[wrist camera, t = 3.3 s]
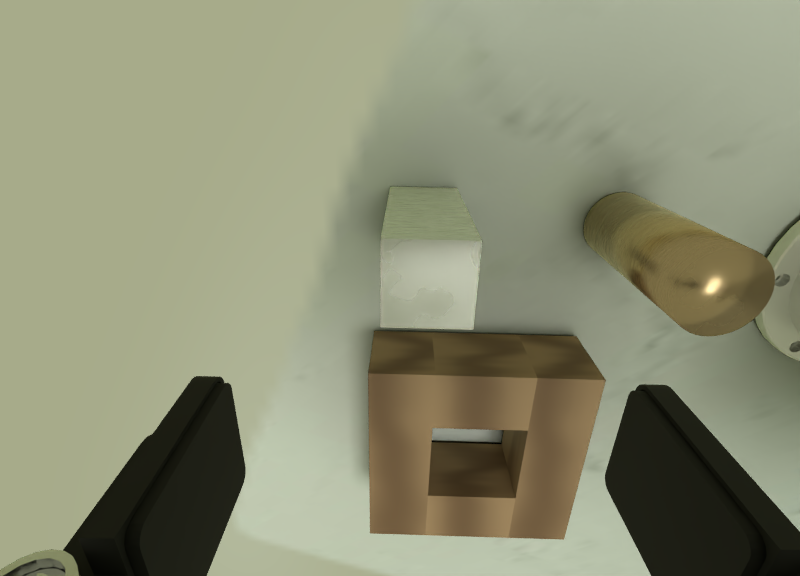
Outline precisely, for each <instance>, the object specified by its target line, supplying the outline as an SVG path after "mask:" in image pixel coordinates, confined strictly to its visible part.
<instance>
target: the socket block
mask: <svg viewBox="0 0 800 576" xmlns="http://www.w3.org/2000/svg"><path fill="white" fill-rule="evenodd" d="M605 381H606V380H605V378H604V377H603V375H602V374H601V372H600V371H599V369H598V368H597V366H596V365H595V363H594V362H593V360H592V359H591V357H590V356H589V354H588V353H587V352H586V350H585V349H584V347H583V346H582V344H581V343H580V341H579V340H578V338H577V337H576V336H548V335H511V334H474V333H437V332H401V331H374V337H373V344H372V351H371V358H370V365H369V372H368V394H369V477H370V533H377V534H409V535H441V536H473V537H505V538H537V539H564V537H565V533H566V529H567V525H568V522H569V518H570V514H571V510H572V506H573V503H574V499H575V495H576V491H577V487H578V484H579V480H580V476H581V472H582V468H583V465H584V461H585V457H586V453H587V449H588V446H589V442H590V438H591V434H592V430H593V427H594V423H595V419H596V415H597V411H598V408H599V404H600V400H601V396H602V392H603V389H604V385H605ZM432 428H454V429H489V430H504V431H503V438H502V444H474V443H440V442H432Z"/></svg>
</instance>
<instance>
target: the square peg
mask: <svg viewBox="0 0 800 576" xmlns="http://www.w3.org/2000/svg"><path fill="white" fill-rule="evenodd" d="M481 250H482V239H481V237H480V235H479V233H478V231H477V229H476V227H475V225H474V222H473V220H472V218H471V216H470V214H469V212H468V210H467V208H466V206H465V204H464V202H463V200H462V198H461V195H460V193H459V191H458V189H457V188H432V187H391V186H390V191H389V196H388V202H387V207H386V212H385V217H384V223H383V228H382V233H381V250H380V327H389V328H426V329H463V330H473V328H474V318H475V308H476V299H477V289H478V279H479V270H480V260H481Z"/></svg>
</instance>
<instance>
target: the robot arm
mask: <svg viewBox="0 0 800 576" xmlns="http://www.w3.org/2000/svg"><path fill="white" fill-rule="evenodd" d="M767 259H768V260H769V262H770V263H771V265H772V267H773V270H774V273H775V286H774V290H773V293H772V296H771V298H770V300H769V302H768V303H767V305H766V306H765V308H764V309H763V310H762V311H761V313H760V314H759V315H758V316H757V317H755V320H756V324H757V326H758V328H759V330H760V331H761V333H762V335H763V337H764V338H765V339H767V340H768V341H769V342H770V343H771V344H772V345H773V346H774V347H775V348H777V349H778V350H779V351H781V352H782V353H784V354H785V355H787V356H788V357H791V358H793V359H795V360H798V361H800V220H799V221H798V222H797V223H796V224H795V225H793V226H792V227H791V228H790V229H789V230H788V232H787V233H786V234H785V235H784V236H783V237H782V238H781V239H780V241H779V242H778V243H777V244H776V245H775V247H774V248H773V250H772V251H771V253H770V254H769V256H768V258H767ZM244 479H245V462H244V457H243V451H242V445H241V439H240V434H239V428H238V423H237V417H236V411H235V405H234V399H233V394H232V388H231V385H230V384H229V383H224V380H223V379H222V378H221V377H208V376H203V377H202V376H196V377H194V378H193V379H192V380H191V382H190V383H189V384H188V386H187V387H186V388H185V390H184V391H183V393H182V394H181V395H180V397H179V398H178V400H177V401H176V402H175V404H174V405H173V407H172V408H171V409H170V411H169V412H168V414H167V415H166V416H165V418H164V419H163V420H162V422H161V423H160V425H159V426H158V427H157V429H156V430H155V432H154V433H153V434H152V435H150V436H148V437H147V438H146V439H145V440H144V441H143V442H142V443H141V444H140V446H139V447H138V449H137V450H136V451H135V453H134V454H133V455H132V457H131V458H130V459H129V461H128V462H127V464H126V465H125V466H124V468H123V469H122V470H121V472H120V473H119V475H118V476H117V477H116V478H115V480H114V481H113V483H112V484H111V485H110V487H109V488H108V490H107V491H106V492H105V494H104V495H103V496H102V498H101V499H100V500H99V502H98V503H97V504H96V506H95V507H94V509H93V510H92V511H91V513H90V514H89V515H88V517H87V518H86V519H85V521H84V522H83V524H82V525H81V526H80V528H79V529H78V530H77V532H76V533H75V535H74V536H73V537H72V539H71V540H70V542H69V543H68V544H67V546H66V547H65V548H64V550H63V551H61V550H52V549H51V550H45V551H40V552H35V553H33V554H30V555H28V556H25V557H22V558H20V559H18V560H16V561H15V562H13V563H11V564H9V565H8V566H6V567H4V568H2V569H1V570H0V576H207V573H208V571H209V568H210V566H211V563H212V561H213V558H214V556H215V553H216V551H217V548H218V546H219V543H220V541H221V538H222V536H223V533H224V531H225V528H226V526H227V523H228V521H229V518H230V516H231V513H232V511H233V508H234V506H235V503H236V501H237V498H238V496H239V493H240V491H241V488H242V486H243V483H244ZM605 482H606V486H607V489H608V492H609V494H610V496H611V498H612V500H613V502H614V503H615V505H616V507H617V509H618V511H619V513H620V515H621V517H622V519H623V521H624V523H625V525H626V527H627V529H628V531H629V533H630V535H631V537H632V539H633V541H634V543H635V545H636V547H637V548H638V550H639V552H640V554H641V556H642V558H643V560H644V562H645V564H646V566H647V568H648V570H649V572H650V574H651V576H800V532H799V530H798V529H797V528H796V527H795V526H794V525H793V524H792V523H791V522H790V520H789V519H788V518H787V517H786V516H785V515H784V514H783V513H782V511H781V510H780V509H779V508H778V507H777V506H776V505H775V504H774V503H773V501H772V500H771V499H770V498H769V497H768V496H767V495H766V494H765V492H764V491H763V490H762V489H761V488H760V487H759V486H758V485H757V484H756V482H755V481H754V480H753V479H752V478H751V477H750V476H749V475H748V474H747V472H746V471H745V470H744V469H743V468H742V467H741V466H740V465H739V463H738V462H737V461H736V460H735V459H734V458H733V457H732V456H731V455H730V453H729V452H728V451H727V450H726V449H725V448H724V447H723V446H722V444H721V443H720V442H719V441H718V440H717V439H716V438H715V437H714V436H713V434H712V433H711V432H710V431H709V430H708V429H707V428H706V427H705V425H704V424H703V423H702V422H701V421H700V420H699V419H698V418H697V417H696V415H695V414H694V413H693V412H692V411H691V410H690V409H689V408H688V406H687V405H686V404H685V403H684V402H683V401H682V400H681V399H680V398H679V396H678V395H677V394H676V393H675V392H674V391H673V390H672V389H671V388H670V387H669V386H666V385H639V386H638V387H637V388H636V390H635V391H631V392H630V394H629V396H628V399H627V403H626V406H625V409H624V413H623V416H622V420H621V423H620V426H619V430H618V433H617V436H616V440H615V443H614V447H613V450H612V453H611V457H610V460H609V463H608V467H607V470H606V474H605Z"/></svg>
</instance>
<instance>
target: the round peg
mask: <svg viewBox="0 0 800 576" xmlns="http://www.w3.org/2000/svg"><path fill="white" fill-rule="evenodd" d="M584 237H585V240H586V242H587V243H588V245H589V246H590V247H591V248H592V249H593V250H594V251H595V252H596V253H597V254H599V255H600V256H601V257H602V258H603V259H604V260H605V261H607V262H608V263H609V264H610V265H611V266H612V267H613V268H615V269H616V270H617V271H618V272H619V273H620V274H621V275H623V276H624V277H625V278H626V279H627V280H628V281H629V282H631V283H632V284H633V285H634V286H635V287H636V288H637V289H639V290H640V291H641V292H642V293H643V294H644V295H645V296H647V297H648V298H649V299H650V300H651V301H652V302H653V303H655V304H656V305H657V306H658V307H659V308H660V309H661V310H663V311H664V312H665V313H666V314H667V315H668V316H669V317H671V318H672V319H673V320H674V321H675V322H676V323H677V324H679V325H680V326H681V327H682V328H683V329H685V330H686V331H688V332H690V333H693V334H695V335H700V336H718V335H723V334H727V333H730V332H733V331H735V330H737V329H739V328H741V327H743V326H745V325H746V324H748V323H749V322H751V321H752V320H753V319H754V318H755V317H757V316H758V315H759V314H760V313H761V311H762V310H763V309H764V308H765V306H766V305H767V303H768V302H769V300H770V298H771V296H772V293H773V290H774V286H775V273H774V270H773V267H772V265H771V263H770V262H769V260H768V259H767V258H766V257H765V256H763V255H762V254H760V253H759V252H757V251H755V250H753V249H751V248H748V247H746V246H744V245H742V244H740V243H738V242H736V241H733V240H731V239H729V238H727V237H725V236H723V235H721V234H719V233H716V232H714V231H712V230H710V229H708V228H706V227H704V226H701V225H699V224H697V223H695V222H693V221H691V220H689V219H687V218H684V217H682V216H680V215H678V214H676V213H674V212H672V211H669V210H667V209H665V208H663V207H661V206H659V205H657V204H655V203H652V202H650V201H648V200H646V199H644V198H642V197H640V196H638V195H635V194H633V193H628V192H619V193H614V194H611V195H608V196H606V197H604V198H603V199H601V200H600V201H598V202H597V203H596V204H595V205H594V206H593V207H592V208H591V210H590V211H589V213H588V215H587V217H586V219H585V223H584Z"/></svg>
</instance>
